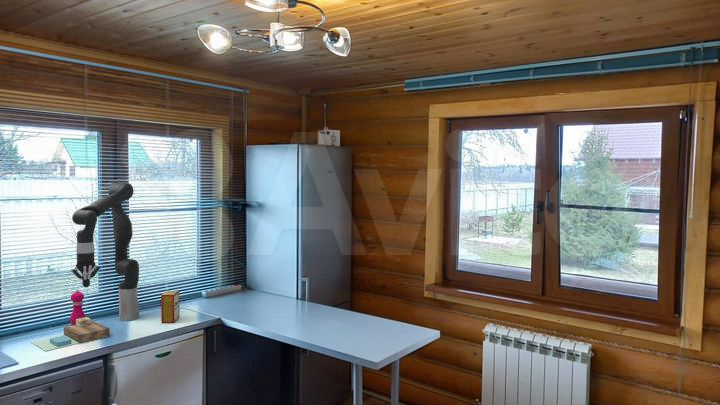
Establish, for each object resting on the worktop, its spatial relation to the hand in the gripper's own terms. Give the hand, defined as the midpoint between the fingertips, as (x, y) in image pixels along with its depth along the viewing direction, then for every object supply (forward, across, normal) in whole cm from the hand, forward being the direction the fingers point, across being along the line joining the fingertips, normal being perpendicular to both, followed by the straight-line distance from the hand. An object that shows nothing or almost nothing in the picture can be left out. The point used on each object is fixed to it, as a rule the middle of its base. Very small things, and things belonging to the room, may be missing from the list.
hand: (86, 286), depth 237 cm
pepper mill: (+25, -4, -21) cm, 33 cm away
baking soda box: (+25, -41, +5) cm, 48 cm away
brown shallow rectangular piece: (+25, -1, -3) cm, 25 cm away
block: (+21, -2, -9) cm, 23 cm away
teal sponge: (+23, +12, 0) cm, 26 cm away
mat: (+25, +13, -3) cm, 28 cm away
